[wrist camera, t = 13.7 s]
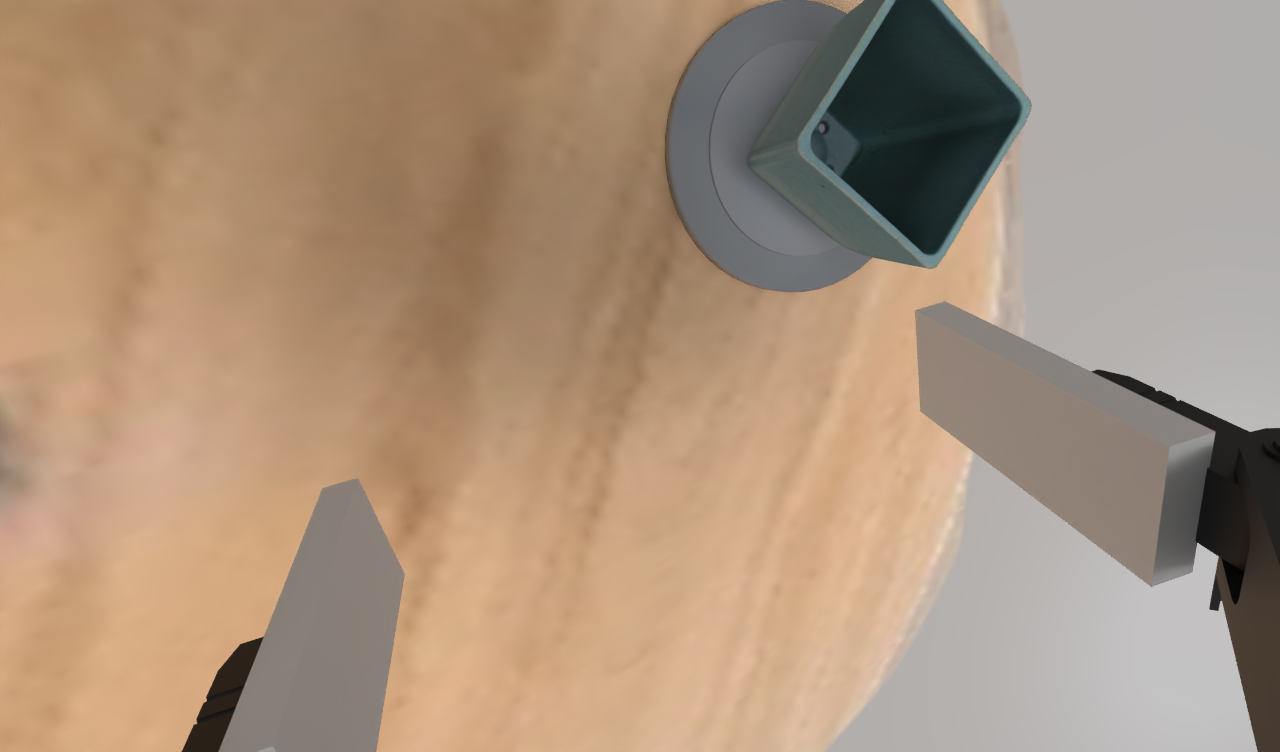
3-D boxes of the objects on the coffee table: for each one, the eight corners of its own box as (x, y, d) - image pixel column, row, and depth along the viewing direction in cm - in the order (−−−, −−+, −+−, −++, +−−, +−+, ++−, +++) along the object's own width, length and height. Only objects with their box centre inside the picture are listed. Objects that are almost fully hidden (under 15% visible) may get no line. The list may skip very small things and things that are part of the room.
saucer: (657, -1, 34) (667, -10, 33) (906, 12, 39) (923, 4, 37) (672, 302, 37) (681, 303, 36) (900, 280, 42) (916, 281, 41)
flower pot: (789, 25, 35) (912, -43, 27) (899, 135, 38) (1039, 105, 30) (698, 169, 35) (793, 146, 27) (816, 267, 38) (934, 274, 30)
